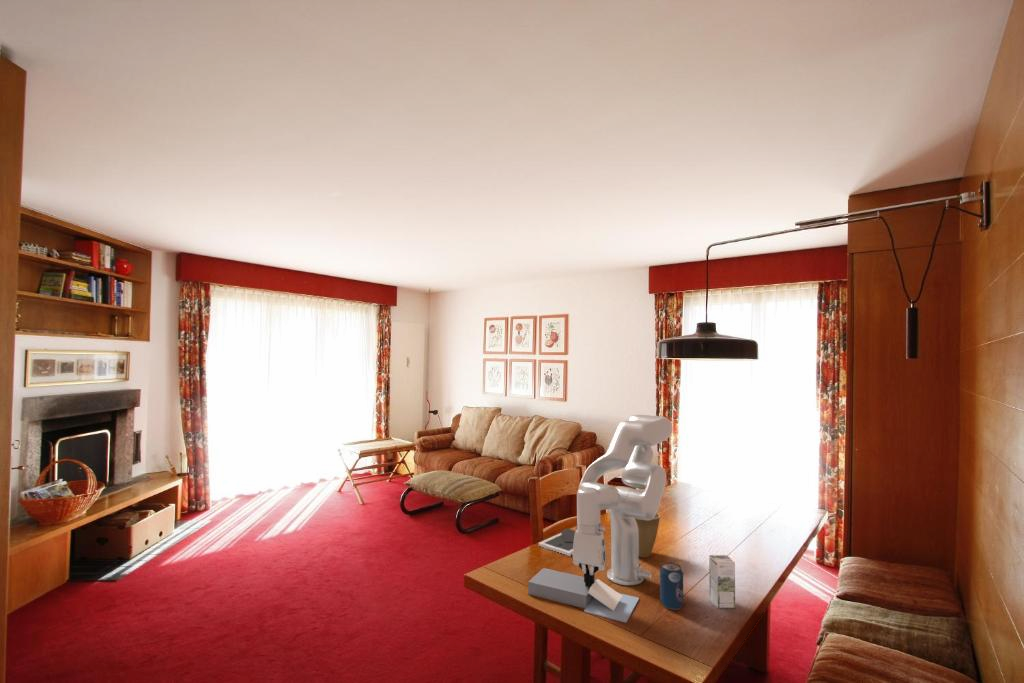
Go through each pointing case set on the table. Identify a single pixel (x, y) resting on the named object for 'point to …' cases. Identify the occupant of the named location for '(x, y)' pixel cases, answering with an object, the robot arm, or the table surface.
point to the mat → (621, 610)
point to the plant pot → (647, 535)
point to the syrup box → (722, 581)
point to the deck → (560, 587)
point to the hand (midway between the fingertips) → (589, 585)
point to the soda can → (671, 586)
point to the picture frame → (560, 542)
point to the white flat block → (605, 594)
